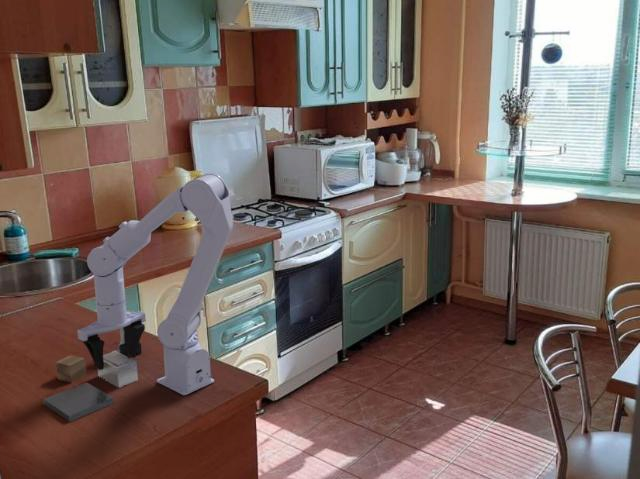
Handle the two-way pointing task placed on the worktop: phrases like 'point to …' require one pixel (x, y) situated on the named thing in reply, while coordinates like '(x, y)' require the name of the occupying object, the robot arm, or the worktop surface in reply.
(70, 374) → the tan cube
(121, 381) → the block
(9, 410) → the worktop surface
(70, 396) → the stand
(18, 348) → the worktop surface
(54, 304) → the worktop surface
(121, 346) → the push button
